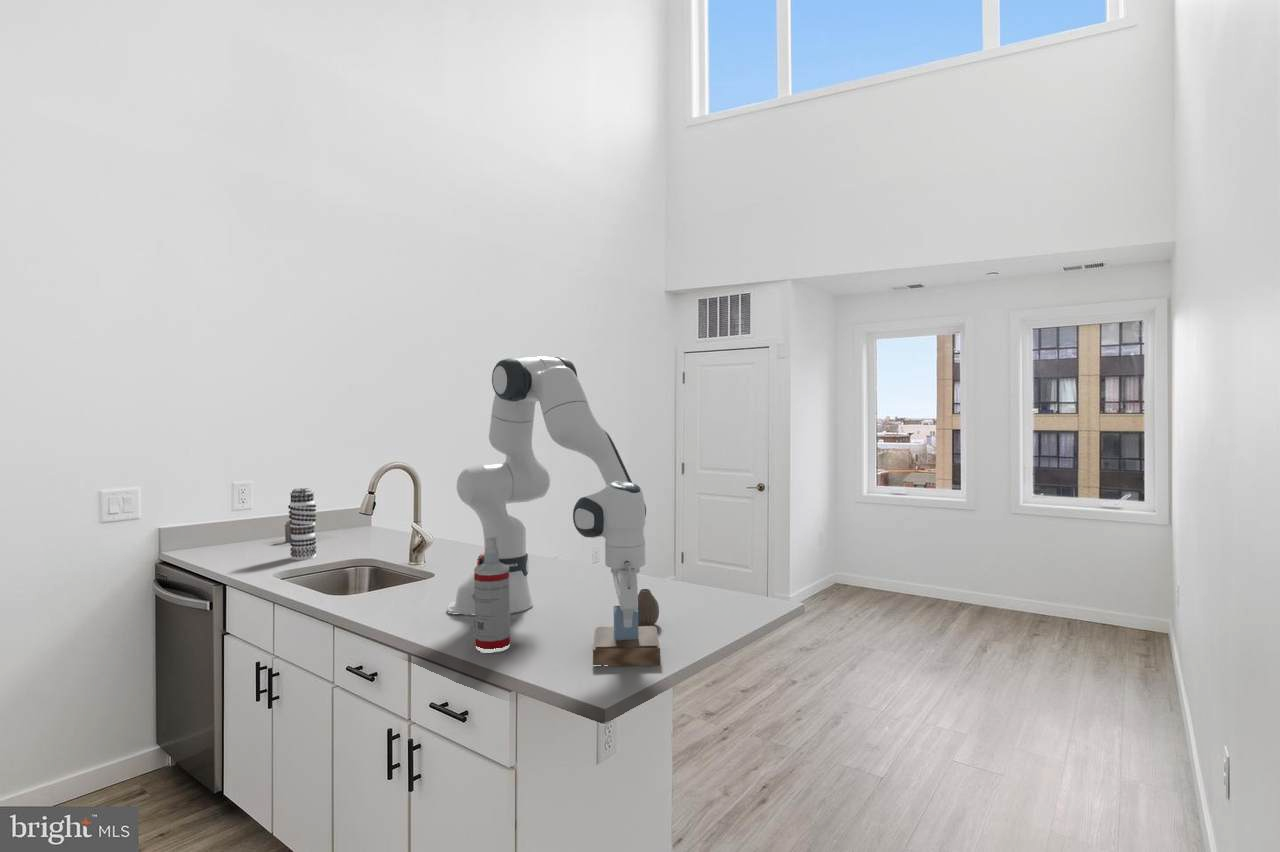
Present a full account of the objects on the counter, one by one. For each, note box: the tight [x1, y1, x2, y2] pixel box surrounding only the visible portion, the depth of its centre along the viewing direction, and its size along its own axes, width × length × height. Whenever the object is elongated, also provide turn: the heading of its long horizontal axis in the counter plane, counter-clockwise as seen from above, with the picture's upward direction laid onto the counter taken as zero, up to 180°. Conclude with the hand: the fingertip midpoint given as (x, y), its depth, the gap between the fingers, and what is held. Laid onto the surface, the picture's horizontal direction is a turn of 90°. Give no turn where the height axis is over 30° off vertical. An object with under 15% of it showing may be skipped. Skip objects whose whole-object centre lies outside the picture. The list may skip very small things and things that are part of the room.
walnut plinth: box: [592, 625, 661, 667], centre depth 153 cm, size 14×14×4 cm
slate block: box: [613, 605, 638, 640], centre depth 153 cm, size 5×5×6 cm
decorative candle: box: [287, 487, 317, 561], centre depth 255 cm, size 9×9×25 cm
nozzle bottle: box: [473, 537, 511, 649], centre depth 158 cm, size 8×8×25 cm
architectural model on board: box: [284, 520, 316, 544], centre depth 288 cm, size 11×3×10 cm, turn 149°
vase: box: [638, 588, 660, 626], centre depth 174 cm, size 7×7×9 cm
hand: (625, 619), depth 153 cm, fingers open, 8 cm apart
